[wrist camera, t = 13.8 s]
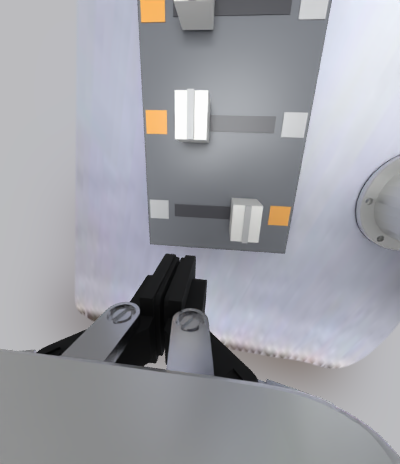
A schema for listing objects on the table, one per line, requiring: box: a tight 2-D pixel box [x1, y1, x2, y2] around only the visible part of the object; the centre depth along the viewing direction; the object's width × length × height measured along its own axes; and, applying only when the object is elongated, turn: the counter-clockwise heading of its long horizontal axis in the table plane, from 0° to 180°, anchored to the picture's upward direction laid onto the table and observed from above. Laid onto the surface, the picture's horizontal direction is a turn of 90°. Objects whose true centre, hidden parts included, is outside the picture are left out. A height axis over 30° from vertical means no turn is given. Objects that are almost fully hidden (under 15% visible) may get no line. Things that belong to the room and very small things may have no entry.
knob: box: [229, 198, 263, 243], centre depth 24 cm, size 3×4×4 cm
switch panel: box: [137, 0, 332, 254], centre depth 24 cm, size 18×30×3 cm, turn 178°
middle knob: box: [175, 89, 211, 143], centre depth 21 cm, size 3×4×4 cm
